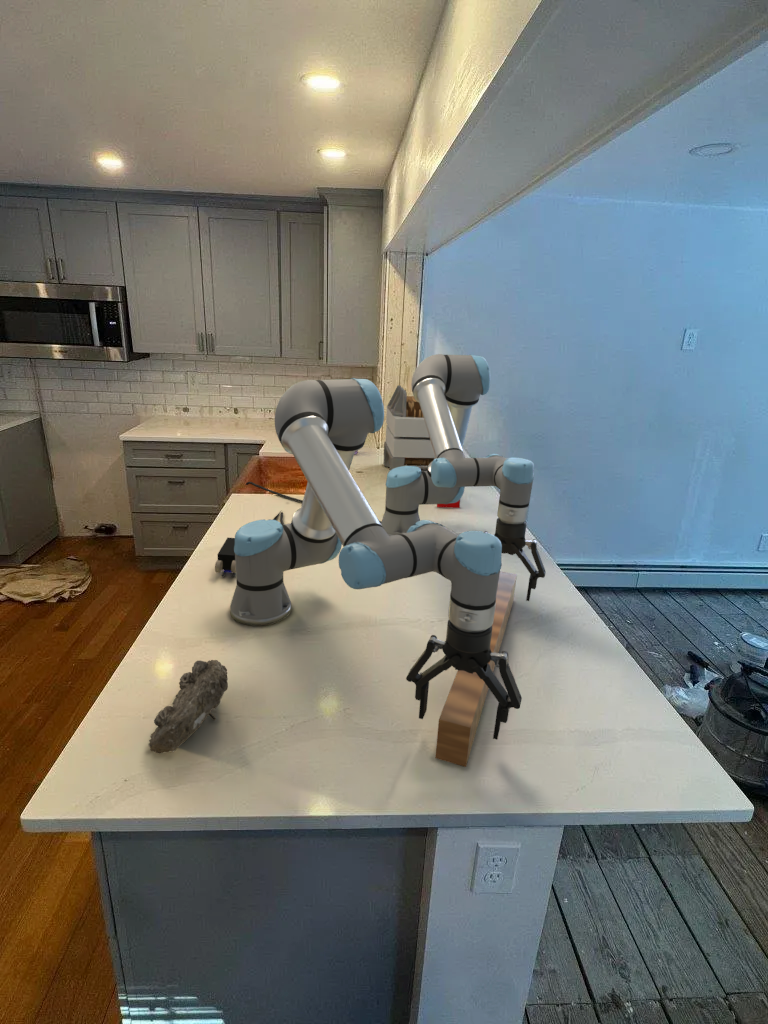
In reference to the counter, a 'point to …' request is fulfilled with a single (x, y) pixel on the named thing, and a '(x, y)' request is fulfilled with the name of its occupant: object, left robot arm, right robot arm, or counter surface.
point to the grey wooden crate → (406, 433)
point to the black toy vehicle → (226, 558)
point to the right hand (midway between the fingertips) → (502, 593)
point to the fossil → (189, 705)
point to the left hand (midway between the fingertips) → (458, 724)
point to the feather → (276, 516)
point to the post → (472, 688)
